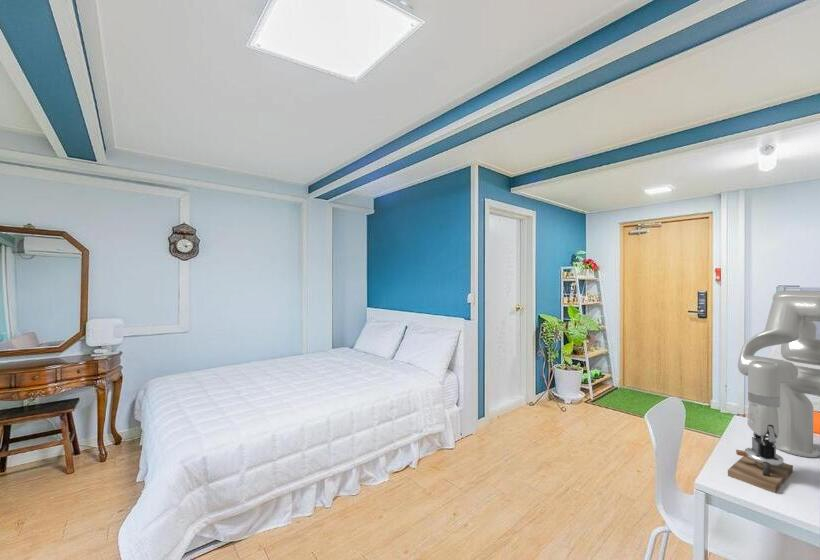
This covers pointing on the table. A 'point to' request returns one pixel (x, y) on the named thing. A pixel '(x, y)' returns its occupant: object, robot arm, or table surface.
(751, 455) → the flange plate
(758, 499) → the table surface
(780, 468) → the base board
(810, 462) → the table surface
